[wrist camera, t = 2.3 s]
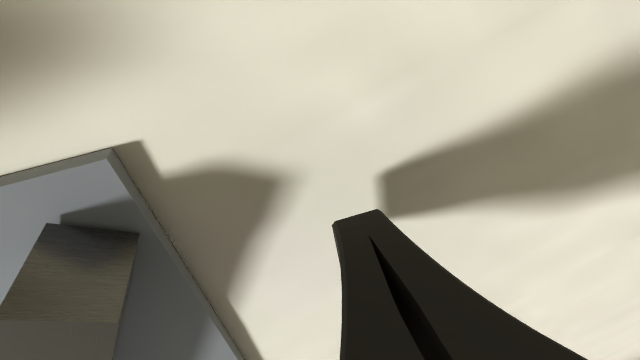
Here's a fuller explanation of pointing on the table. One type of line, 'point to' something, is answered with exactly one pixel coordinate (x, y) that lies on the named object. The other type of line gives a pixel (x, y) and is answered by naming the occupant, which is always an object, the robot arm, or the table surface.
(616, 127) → the table surface
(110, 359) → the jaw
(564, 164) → the table surface
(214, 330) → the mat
